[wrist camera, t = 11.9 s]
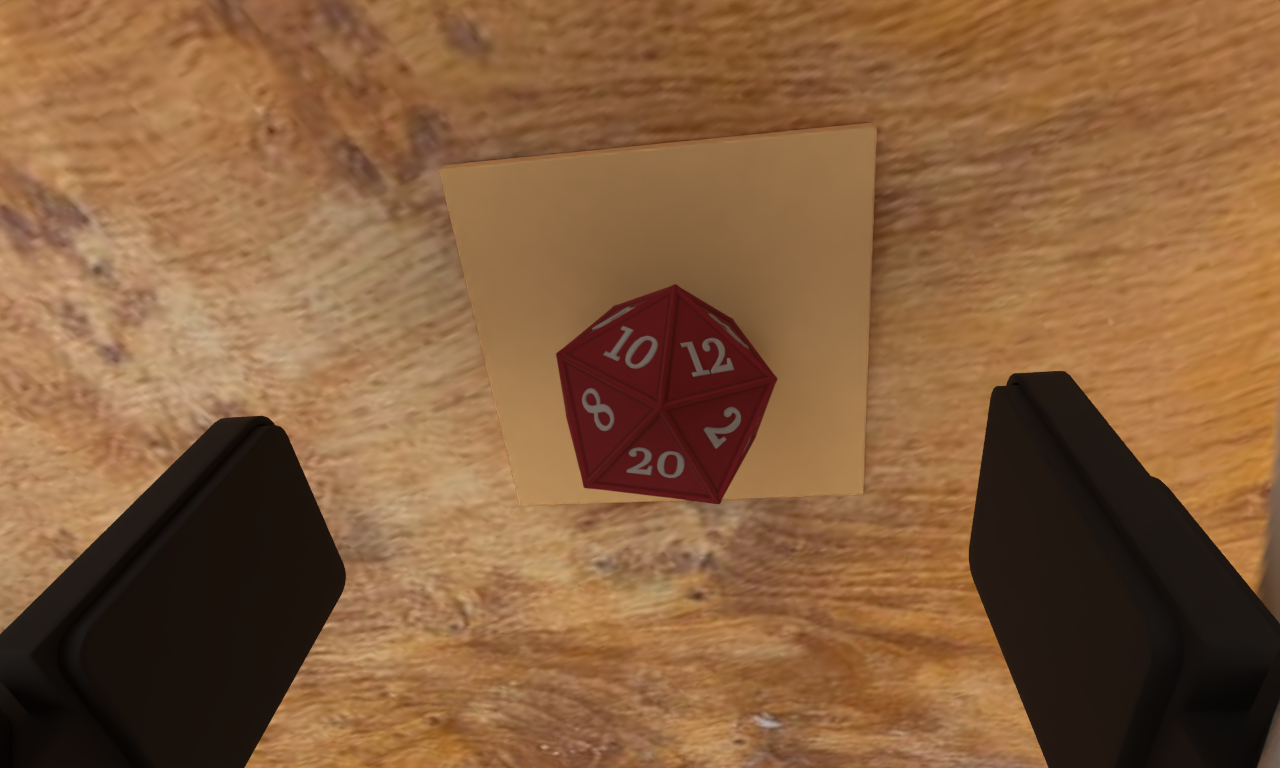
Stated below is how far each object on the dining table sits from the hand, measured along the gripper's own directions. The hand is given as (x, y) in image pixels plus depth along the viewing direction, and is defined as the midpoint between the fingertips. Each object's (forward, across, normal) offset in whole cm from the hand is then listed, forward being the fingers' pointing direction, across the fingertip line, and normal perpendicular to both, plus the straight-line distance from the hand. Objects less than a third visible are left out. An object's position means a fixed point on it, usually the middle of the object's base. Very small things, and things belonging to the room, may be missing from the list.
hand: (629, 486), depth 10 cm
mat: (+6, 0, +1) cm, 6 cm away
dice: (+6, 0, +1) cm, 6 cm away
